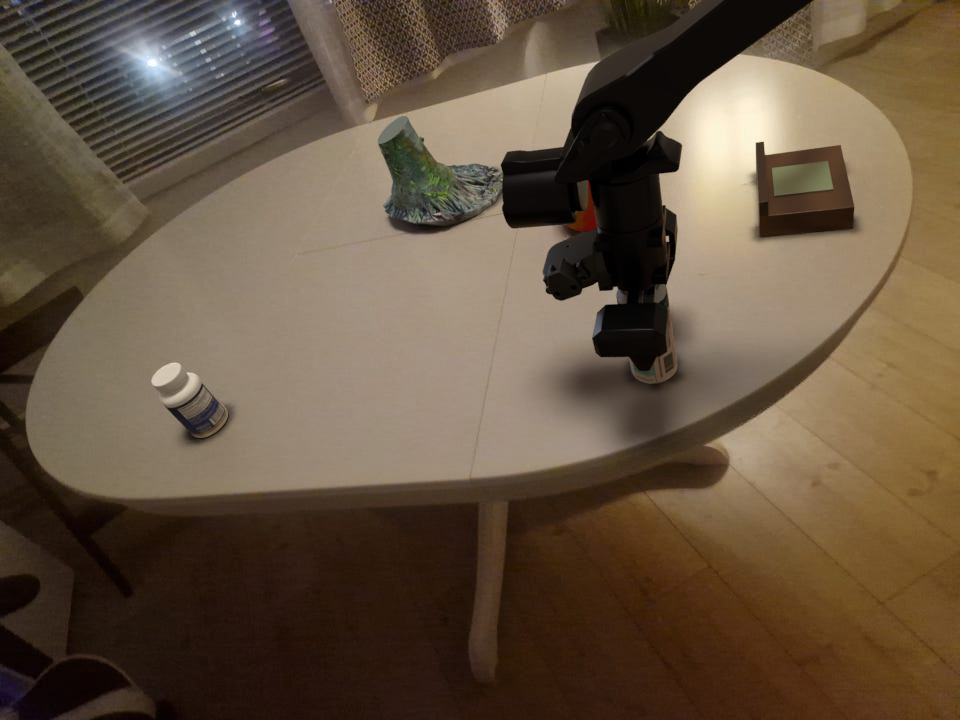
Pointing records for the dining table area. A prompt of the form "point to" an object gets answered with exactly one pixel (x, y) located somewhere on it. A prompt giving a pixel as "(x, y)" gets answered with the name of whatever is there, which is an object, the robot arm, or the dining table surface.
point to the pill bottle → (189, 400)
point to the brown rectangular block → (803, 191)
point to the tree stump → (432, 181)
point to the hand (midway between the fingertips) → (647, 341)
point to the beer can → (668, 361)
